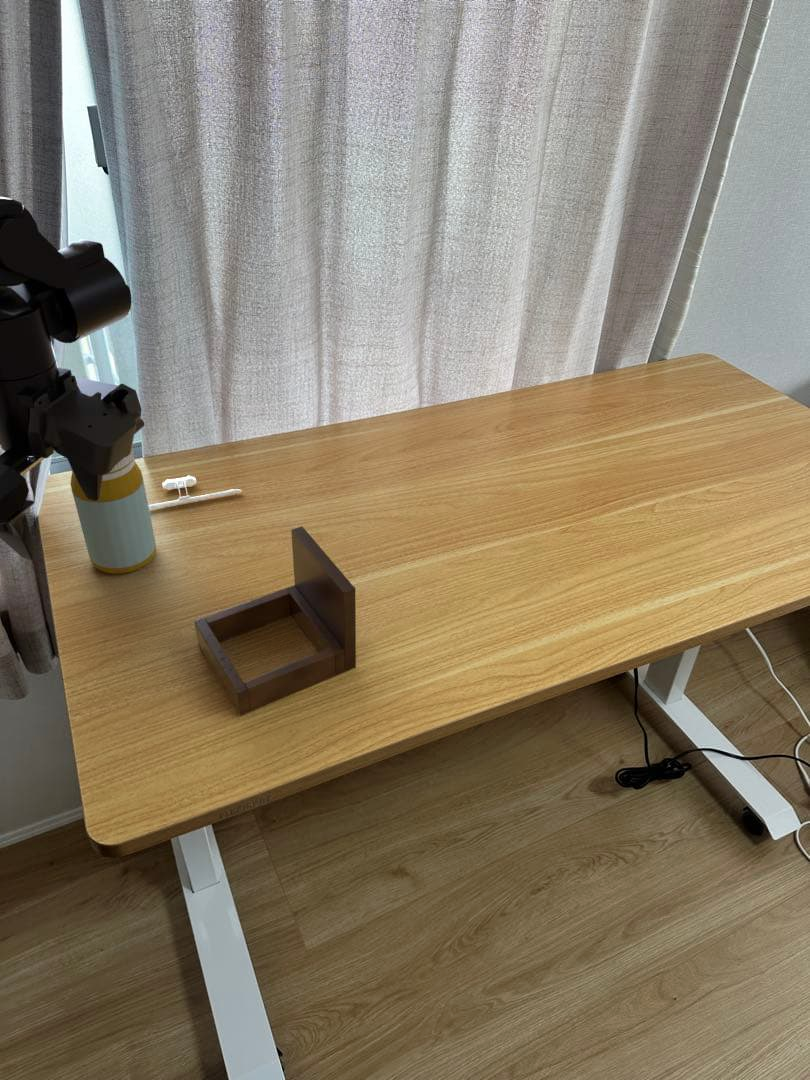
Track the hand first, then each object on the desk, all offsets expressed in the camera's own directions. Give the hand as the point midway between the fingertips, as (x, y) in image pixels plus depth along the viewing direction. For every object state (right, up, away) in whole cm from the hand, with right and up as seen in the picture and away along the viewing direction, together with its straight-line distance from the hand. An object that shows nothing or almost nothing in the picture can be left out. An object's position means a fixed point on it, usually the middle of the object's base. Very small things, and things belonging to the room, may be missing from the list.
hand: (62, 527), depth 71 cm
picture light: (+3, +4, +27) cm, 28 cm away
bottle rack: (+17, -12, +6) cm, 22 cm away
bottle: (-1, -3, +17) cm, 18 cm away
